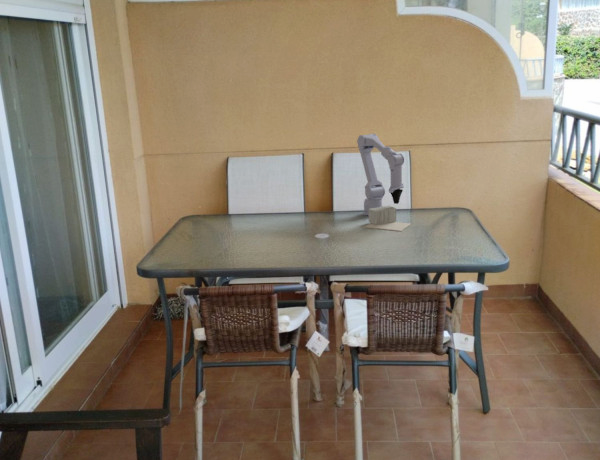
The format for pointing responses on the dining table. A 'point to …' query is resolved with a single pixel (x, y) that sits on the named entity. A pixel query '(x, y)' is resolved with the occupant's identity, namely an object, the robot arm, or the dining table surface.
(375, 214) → the supplement box
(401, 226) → the mat
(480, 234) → the dining table surface
